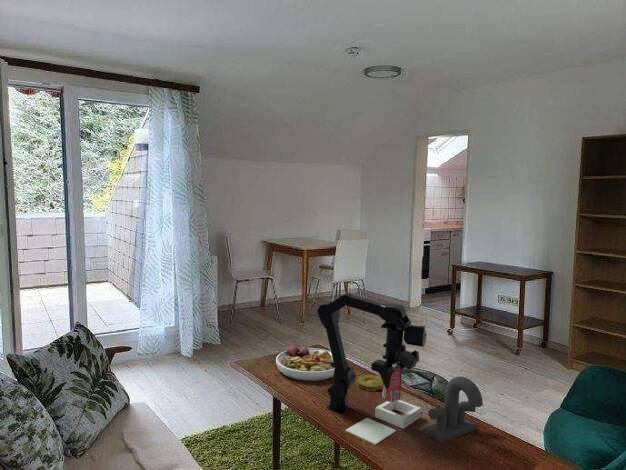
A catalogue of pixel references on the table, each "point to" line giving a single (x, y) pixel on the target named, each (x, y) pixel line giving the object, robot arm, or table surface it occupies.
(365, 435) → the mat
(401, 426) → the collar
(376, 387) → the gold flat disc
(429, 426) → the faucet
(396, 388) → the beverage can
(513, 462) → the table surface
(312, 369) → the bowl
